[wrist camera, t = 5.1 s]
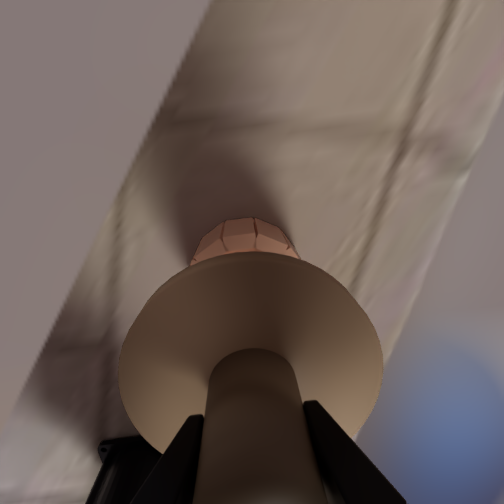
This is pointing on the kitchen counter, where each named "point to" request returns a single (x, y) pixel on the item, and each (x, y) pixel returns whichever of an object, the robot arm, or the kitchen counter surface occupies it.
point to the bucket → (243, 239)
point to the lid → (250, 372)
